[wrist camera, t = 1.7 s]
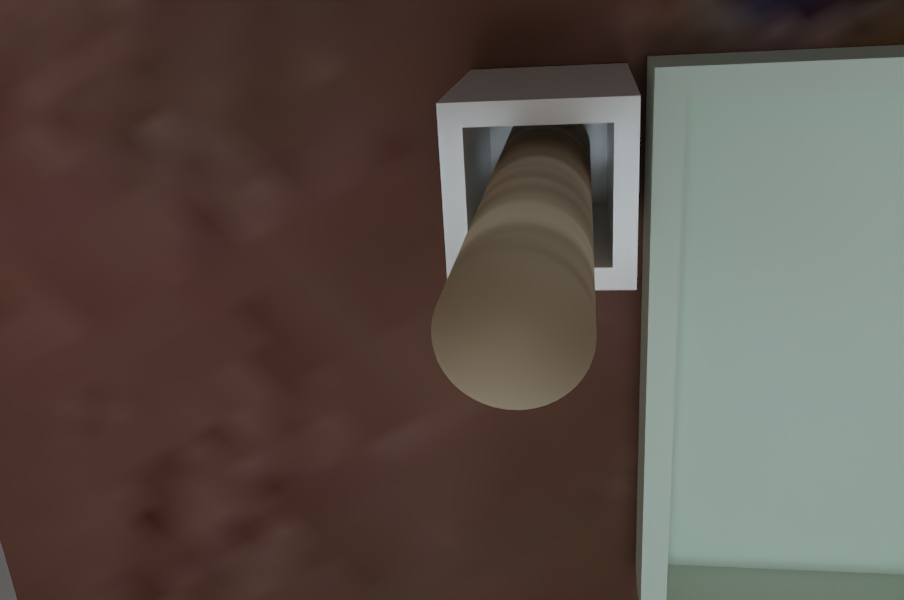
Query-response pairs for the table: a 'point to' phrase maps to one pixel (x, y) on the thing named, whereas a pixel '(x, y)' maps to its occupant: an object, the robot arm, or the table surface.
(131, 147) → the table surface
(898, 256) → the tray
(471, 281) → the dowel
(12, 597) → the robot arm
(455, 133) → the cup
